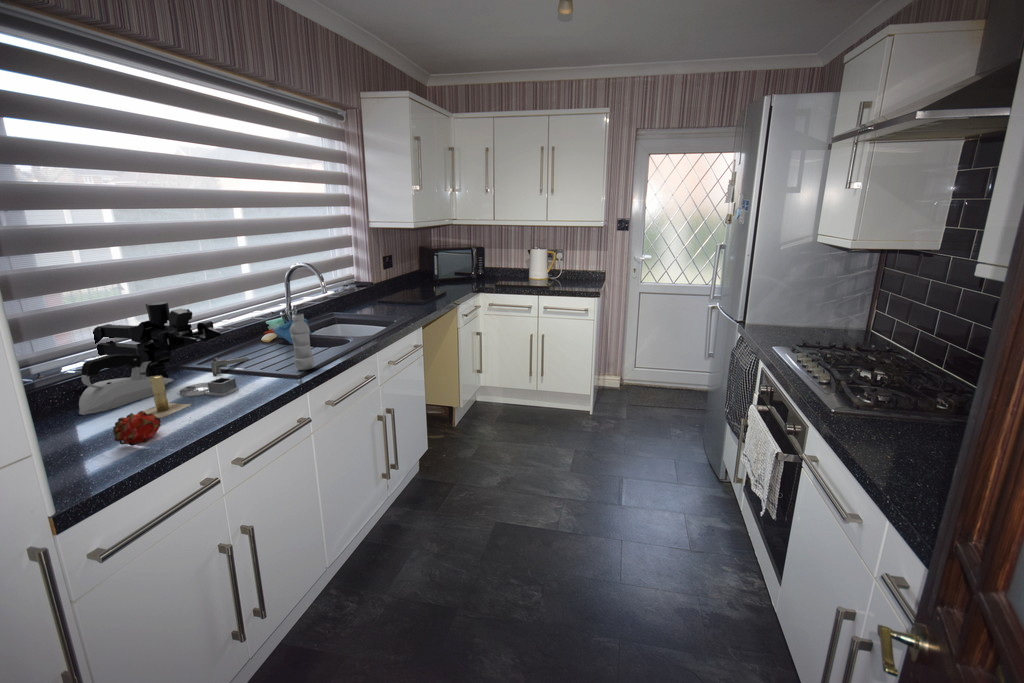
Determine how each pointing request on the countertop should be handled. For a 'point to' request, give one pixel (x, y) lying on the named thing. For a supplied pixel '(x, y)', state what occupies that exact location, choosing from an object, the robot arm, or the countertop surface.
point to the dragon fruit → (136, 428)
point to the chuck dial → (211, 388)
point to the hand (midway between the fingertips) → (208, 337)
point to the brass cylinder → (159, 393)
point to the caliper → (224, 364)
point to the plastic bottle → (301, 343)
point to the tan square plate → (172, 408)
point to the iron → (114, 384)
